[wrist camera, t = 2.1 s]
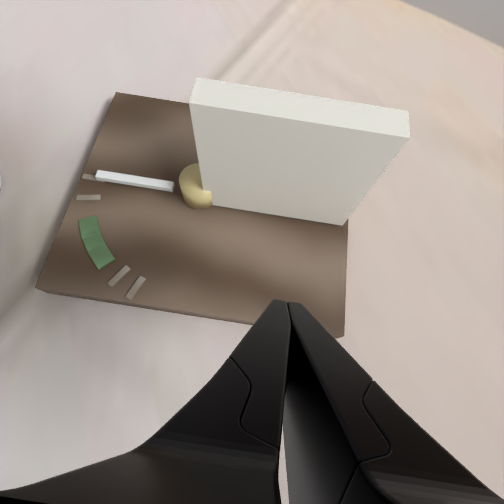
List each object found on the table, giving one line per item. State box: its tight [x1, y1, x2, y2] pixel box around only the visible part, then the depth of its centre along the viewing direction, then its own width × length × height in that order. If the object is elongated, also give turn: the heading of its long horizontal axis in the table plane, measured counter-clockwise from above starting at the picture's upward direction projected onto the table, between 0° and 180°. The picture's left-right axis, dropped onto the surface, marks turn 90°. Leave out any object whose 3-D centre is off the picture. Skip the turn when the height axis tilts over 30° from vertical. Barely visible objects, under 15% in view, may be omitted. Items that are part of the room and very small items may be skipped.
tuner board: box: [35, 92, 348, 338], centre depth 23 cm, size 17×20×2 cm
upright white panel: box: [95, 77, 410, 226], centre depth 18 cm, size 3×18×9 cm, turn 82°
